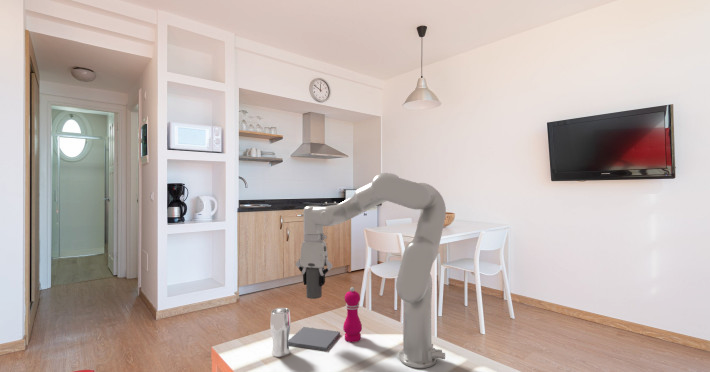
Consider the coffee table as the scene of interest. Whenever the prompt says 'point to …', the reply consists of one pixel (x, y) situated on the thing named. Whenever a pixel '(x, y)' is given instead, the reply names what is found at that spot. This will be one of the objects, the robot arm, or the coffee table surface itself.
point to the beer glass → (280, 331)
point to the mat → (314, 338)
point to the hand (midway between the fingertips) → (314, 284)
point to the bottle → (313, 282)
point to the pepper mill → (352, 317)
